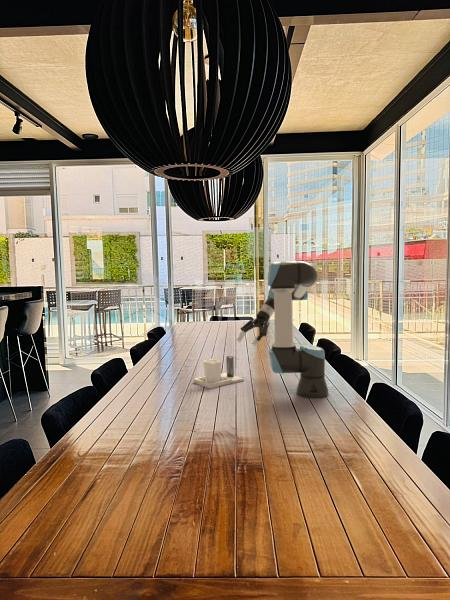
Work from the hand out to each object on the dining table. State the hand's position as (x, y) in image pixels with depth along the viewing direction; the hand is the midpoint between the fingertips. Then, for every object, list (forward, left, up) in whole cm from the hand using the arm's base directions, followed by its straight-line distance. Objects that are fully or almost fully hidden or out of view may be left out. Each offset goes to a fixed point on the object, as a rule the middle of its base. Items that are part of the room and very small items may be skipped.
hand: (245, 342), depth 246 cm
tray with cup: (-1, +20, -18) cm, 27 cm away
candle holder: (-1, +24, -19) cm, 31 cm away
